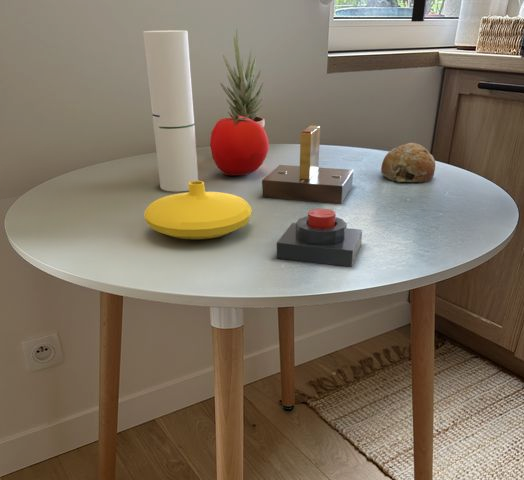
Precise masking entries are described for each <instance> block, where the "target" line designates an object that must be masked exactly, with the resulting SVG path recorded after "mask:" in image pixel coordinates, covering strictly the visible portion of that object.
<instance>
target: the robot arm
mask: <svg viewBox="0 0 524 480" xmlns="http://www.w3.org/2000/svg"><path fill="white" fill-rule="evenodd" d="M427 1H428V0H413V2H412V3H413V4H412V12H411V20H410V22H411V23H412V22H413V23H414V22H415V23H416V22H417V23H418V22H425V18H426V17H425V15H426V9H427Z"/></svg>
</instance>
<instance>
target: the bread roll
mask: <svg viewBox="0 0 524 480" xmlns="http://www.w3.org/2000/svg"><path fill="white" fill-rule="evenodd" d="M380 171H381V174H382V175H383V177H385V178H386V179H388V181H392V182H396V183H428V182H429V181H431V180H432V179H433V178H434V176H435V171H436V160H435V158H434V156H433V155H432V154H431V153H430V152H429V151H428V149H427V148H426V147H425V146H423V145H421V144H419V143H415V142H408V143H404V144H402V145H399V146H398V147H395V148H392V149H391V150H389V151H388V152H387V153H386V155H385V156H384V158H383V159H382V163H381V168H380Z"/></svg>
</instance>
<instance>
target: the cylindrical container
mask: <svg viewBox="0 0 524 480" xmlns="http://www.w3.org/2000/svg"><path fill="white" fill-rule="evenodd" d="M142 34H143V44H144V52H145V60H146V61H145V62H146V71H147V78H148V79H147V80H148V87H149V88H148V89H149V96H150V105H151V107H150V108H151V114H152V124H153V133H154V142H155V150H156V161H157V170H158V178H159V186H160V189H161V190H163V191H167V192H176V193H177V192H189V182H192V181H199V168H198V155H197V154H198V153H197V142H196V129H195V127H196V125H195V114H194V100H193V88H192V87H193V86H192V76H191V75H192V74H191V61H190V46H189V33H188V30H181V29H180V30H179V29H177V30H176V29H174V30H172V29H171V30H168V29H167V30H165V29H164V30H145V31H142Z"/></svg>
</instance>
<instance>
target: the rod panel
mask: <svg viewBox="0 0 524 480" xmlns="http://www.w3.org/2000/svg"><path fill="white" fill-rule="evenodd" d="M299 174H300V165H289V164H279V165H278V166H277V167H275V168H274V169H273V170H272V171H271V172H269V173H268V175H266V176H265V177H264V178H263V179H262V182H261V190H262V192H261V193H262V198H270V199H281V200H292V201H305V202H316V203H329V204H339V205H342V203H343V202H344V200H345V199H346V197H347V195H348V194H349V192H350V191H351V189H352V187H353V181H354V169H349V168H348V169H347V168H334V167H333V168H332V167H319V166H318V171H317V172H316V173H315V174H314V175H313V176H312V177H311V179H310V180H305V179H299Z"/></svg>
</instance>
